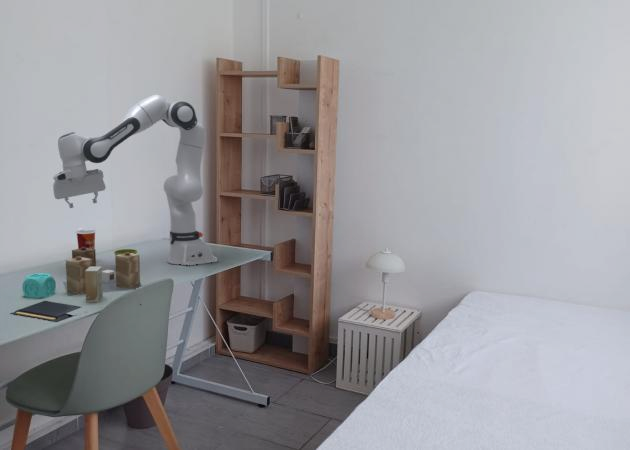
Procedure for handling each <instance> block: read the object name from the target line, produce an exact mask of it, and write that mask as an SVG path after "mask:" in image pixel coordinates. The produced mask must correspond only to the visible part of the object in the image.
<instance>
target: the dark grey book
mask: <svg viewBox="0 0 630 450" xmlns="http://www.w3.org/2000/svg"><path fill="white" fill-rule="evenodd" d="M81 308H82V306H80V305H74V304H73V305H72V304H68V303H62V302H55V301H51V300H50V301H49V300H43V301H39V302H37V303H34V304H31V305H27V306H25V307H23V308H19V309H17V310H15V311H13V312H10V313H9V314H10V315H12V314H13V316H18V315H19V316H18V317H24V318H29V317H30V319H31V318H32V319H35V318H37V319H36V320H41V319H42V320H41V321H46V320H47V321H48V322H51V323H52V322H53V323H59V322H61V321H63V320H64V321H65V320H67V319H69V318H71V317H74V316H76V314H69V313H70V312H73V311H75V310H78V309H81Z"/></svg>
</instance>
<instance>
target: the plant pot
mask: <svg viewBox="0 0 630 450" xmlns="http://www.w3.org/2000/svg"><path fill="white" fill-rule="evenodd" d="M125 252H130V253H133V254H138V250H137V249H135V248H134V249H132V248H124V249H117V250H115V251H114V252H113V253H114V254H115V255H119V254H123V253H125ZM115 255H114V256H115Z"/></svg>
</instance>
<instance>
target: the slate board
mask: <svg viewBox="0 0 630 450" xmlns="http://www.w3.org/2000/svg"><path fill="white" fill-rule="evenodd" d="M62 283H63V285H64V289H65V292H66V294H67V297H72V296H73V297H74V296H82V295H86V293H83V294H80V295H79V294H74V293H70V292H67V281H63V282H62ZM141 286H143V284H142V283H141V282H140V285H138V286H135V287H132V288H129V289H127V288H123V287H118V286H116V281H114V282H110V283H105V282H102V291H103V293H112V292H122V291H123V292H124V291H132V290H137V289H136V288H139V287H141Z"/></svg>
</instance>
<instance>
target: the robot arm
mask: <svg viewBox="0 0 630 450" xmlns="http://www.w3.org/2000/svg"><path fill="white" fill-rule="evenodd" d="M159 121H163V122H164V123H165V124H166V125H168V126H169V127H172V128H178V130H179V134H180V135H179V136H180V137H179V141H178V146H177V151H176V155H175V156H176V157H175V163H176V168H177V169H176V170H177V171H176V172H177V173H176V175H170V176H169V177H167V178H166V179H165V180H164V182H163V191H164V192H165V195H166V199H167V204H168V208H169V209H168V210H169V213H170V215H169V216H170V231H169V244H170V245H169V252H168V253H169V254H168V258H167V263H169V264H172V265H179V264H181V266H186V265H188V266H189V265H190V266H196V264H198V265H203V264H210V263H211V262H212V263H217V262H218V257H216V256H215V255H214V254H213V249H212V248H211V246H210V245H209V244H207V243H206V241H203V240H202V239H201V238H203V236H204V234H203V232H201V231H198V230H196V229H197V228H196V227H197V226H196V225H197V224H196V222H197V221H196V212H195V210H194V208H193V204H192V203H194V202H197V201H199V200H200V199H201V198H202V196H203V193H204V189H203V188H204V187H203V185H202V181H201V165H202V159H203V158H202V157H203V153H204V148H205V143H206V142H205V140H206V128H205V127H204V125H203V124H202V123H200V122H198V117H197V115H196V109H194V107H193V105H192V104H190V103H189V102H187V101H174V102H168V101H167V100H166V99H165V97H163V96H162V95H160V94H152V95H150V96H147V97H145V98H144V99H143V98H142V100H140V101H138V102H137V103H135V104H134V105H133V106H131V107H130V108H129V109H128V110H127V111H125V113H124V115H123V118H122V120H121V122H120V123H119V124H118V125H116V126H115V127H114V128H112V129H111V130H110V131H108V132H107V133H105V134H104V135H102V136H96V137H90V136H85V135H83V134H79V133H77V132H74V131H71V132H70V133H65V134H63V135H61V136H60V137H59V138H58V140H57V147H58V148H57V149H58V153H59V157H60V159H61V161H62V170H61V171H59V172H58V173H56V174H54V175H53V177H52V178H53V180H54V182H53V184H52V185H53V195H54V199H56V200H63V199H64V201H65V202H66V203H67V204H68V207H69V209H73V208H75V207H74V204H73V202H71V203H70V202H69V198H71V197H77V196H83V195H86V194H88V195H89V194H92V193H93V195H95V196H94V198H92V203H93V204H97V203H98V199H97V198H98V196H99V192H101V191H102V192H103V191H105V190H106V184H105V182H104V172H103V171H102V169H98V168H96V169H90V170H88V168H87V165H86V161H87V162H88V161H89V162H91V163H93V164H100V163H103V162H105V161H106V160H107V159H108V158H109V157H110V155H111V153H112V151H113V150H114V149H115V148H116V147H118V146H119V145H120V144H122V143H124V142H125V141H126V140H127V139H129V138H130V137H132V136H135V135H137V134H139V133H141V132H144V131H146V130H148V129H149V128H151V127H152V126H153V125H155V124H156V123H158V122H159ZM212 263H211V264H212ZM190 266H189V267H190Z"/></svg>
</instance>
